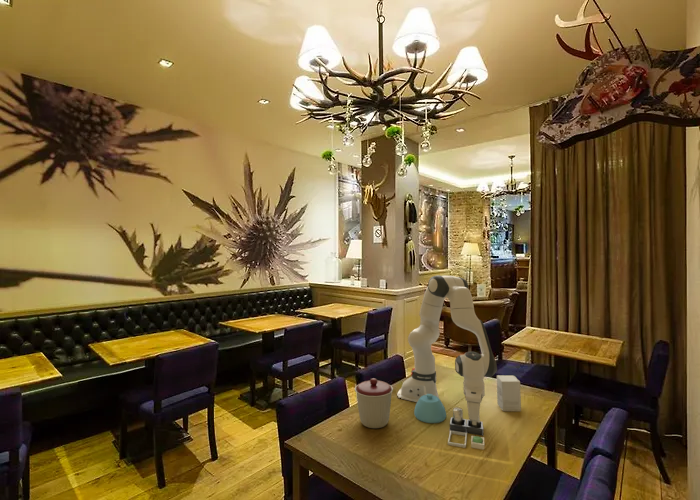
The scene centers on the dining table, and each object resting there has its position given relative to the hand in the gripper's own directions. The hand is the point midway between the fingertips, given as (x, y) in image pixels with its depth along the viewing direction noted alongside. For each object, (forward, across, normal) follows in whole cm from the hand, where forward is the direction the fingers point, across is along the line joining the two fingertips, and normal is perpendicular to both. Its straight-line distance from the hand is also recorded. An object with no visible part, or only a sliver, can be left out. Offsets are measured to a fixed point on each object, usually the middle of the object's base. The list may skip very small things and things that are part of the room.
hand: (474, 421), depth 157 cm
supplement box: (+5, -31, +16) cm, 35 cm away
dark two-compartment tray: (+5, 0, -4) cm, 6 cm away
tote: (+5, +11, -6) cm, 14 cm away
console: (+5, +12, +2) cm, 13 cm away
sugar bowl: (+5, -7, -20) cm, 22 cm away
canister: (+5, +6, -44) cm, 45 cm away
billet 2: (+3, 0, 0) cm, 3 cm away
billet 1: (+4, 0, -7) cm, 8 cm away
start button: (+4, +12, +1) cm, 13 cm away
